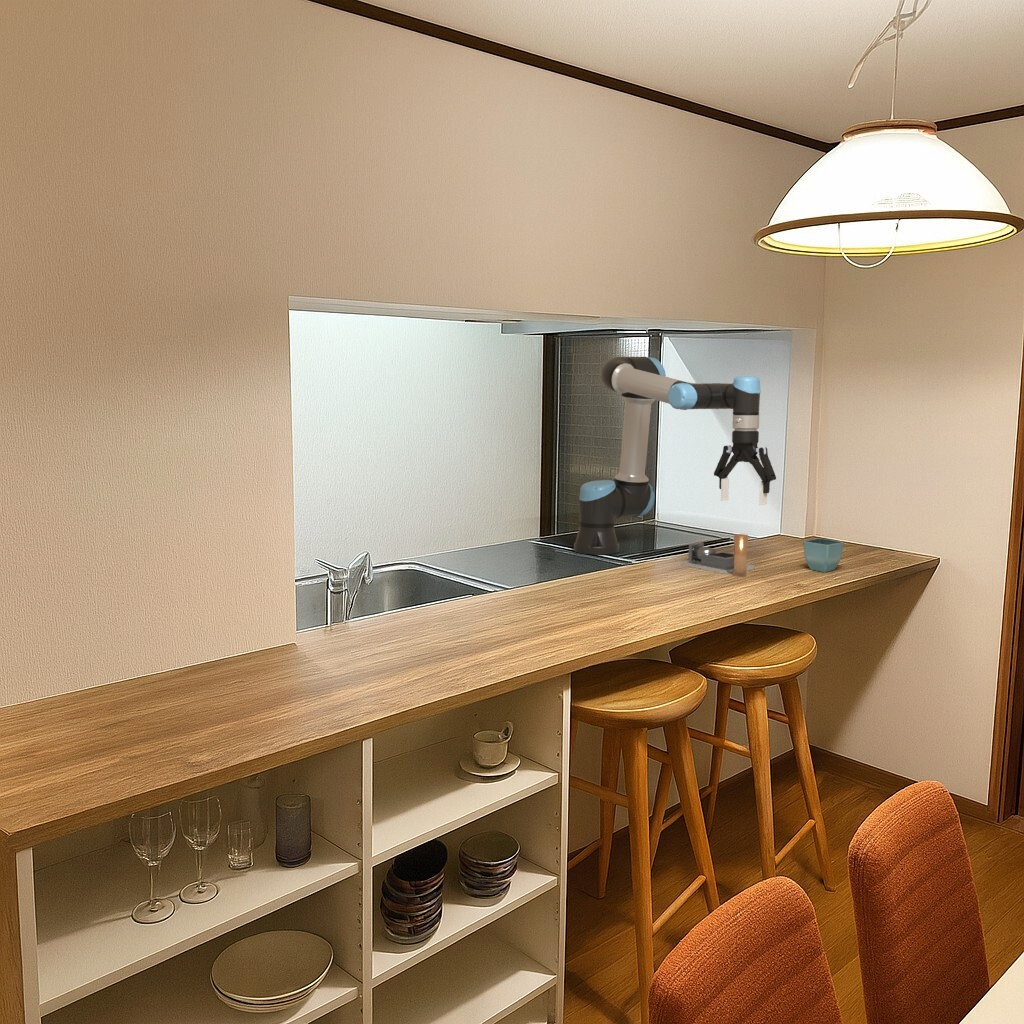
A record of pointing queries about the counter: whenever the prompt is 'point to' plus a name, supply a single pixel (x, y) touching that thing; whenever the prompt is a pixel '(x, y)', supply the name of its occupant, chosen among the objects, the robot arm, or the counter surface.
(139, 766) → the counter surface
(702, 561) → the dark grey holder base
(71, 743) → the counter surface
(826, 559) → the flower pot
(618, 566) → the counter surface
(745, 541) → the pipe stub
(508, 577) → the counter surface
